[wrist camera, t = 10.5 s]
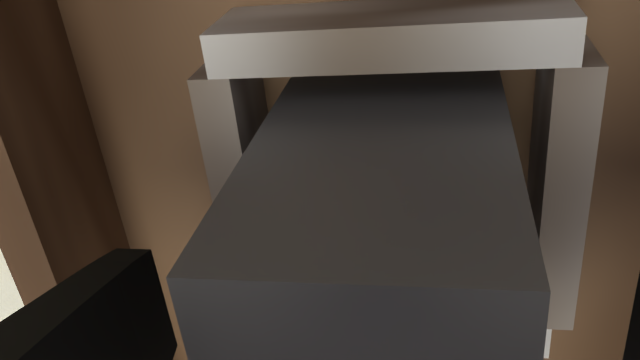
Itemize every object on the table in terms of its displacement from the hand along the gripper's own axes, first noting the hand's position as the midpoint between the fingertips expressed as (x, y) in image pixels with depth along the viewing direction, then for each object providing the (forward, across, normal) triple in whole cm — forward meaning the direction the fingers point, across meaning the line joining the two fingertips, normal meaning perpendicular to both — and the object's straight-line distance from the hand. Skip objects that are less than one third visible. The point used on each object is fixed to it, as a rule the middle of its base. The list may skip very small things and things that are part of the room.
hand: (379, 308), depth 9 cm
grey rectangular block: (+5, 0, 0) cm, 5 cm away
